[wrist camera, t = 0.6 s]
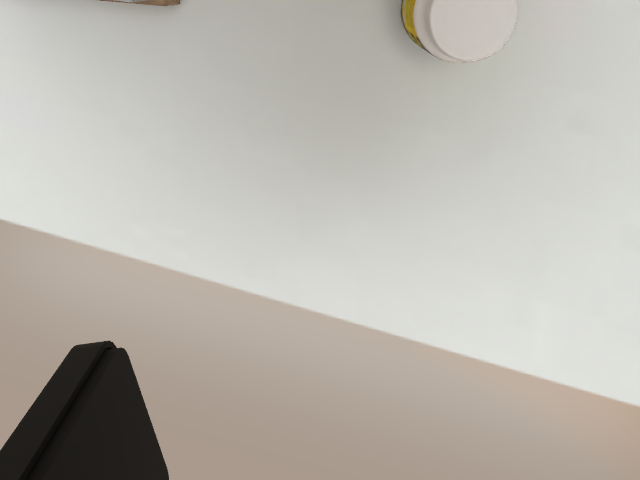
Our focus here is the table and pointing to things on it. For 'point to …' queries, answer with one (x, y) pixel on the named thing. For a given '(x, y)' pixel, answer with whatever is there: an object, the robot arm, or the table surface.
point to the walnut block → (152, 2)
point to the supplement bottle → (460, 26)
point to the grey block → (133, 0)
